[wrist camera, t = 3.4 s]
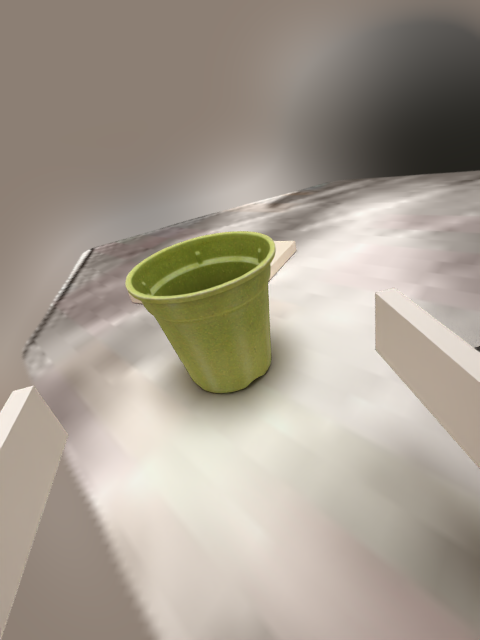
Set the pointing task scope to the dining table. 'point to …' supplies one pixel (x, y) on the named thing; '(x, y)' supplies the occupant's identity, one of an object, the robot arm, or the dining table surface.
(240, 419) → the dining table surface
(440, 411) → the robot arm
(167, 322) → the plant pot
